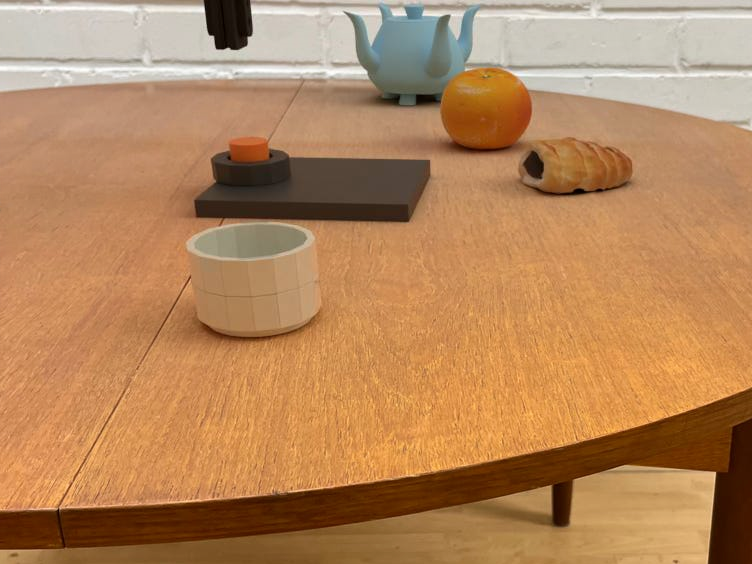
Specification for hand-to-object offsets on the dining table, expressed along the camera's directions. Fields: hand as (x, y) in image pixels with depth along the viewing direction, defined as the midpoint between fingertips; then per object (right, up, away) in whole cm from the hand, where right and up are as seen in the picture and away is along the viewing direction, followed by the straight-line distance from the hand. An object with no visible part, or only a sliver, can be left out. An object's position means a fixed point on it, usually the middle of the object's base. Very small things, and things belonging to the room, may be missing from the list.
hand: (232, 47), depth 72 cm
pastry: (+26, -8, +9) cm, 29 cm away
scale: (+6, -9, +6) cm, 12 cm away
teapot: (+11, +13, +44) cm, 47 cm away
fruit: (+19, 0, +22) cm, 29 cm away
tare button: (0, -7, +5) cm, 8 cm away
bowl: (+6, -23, -16) cm, 29 cm away
